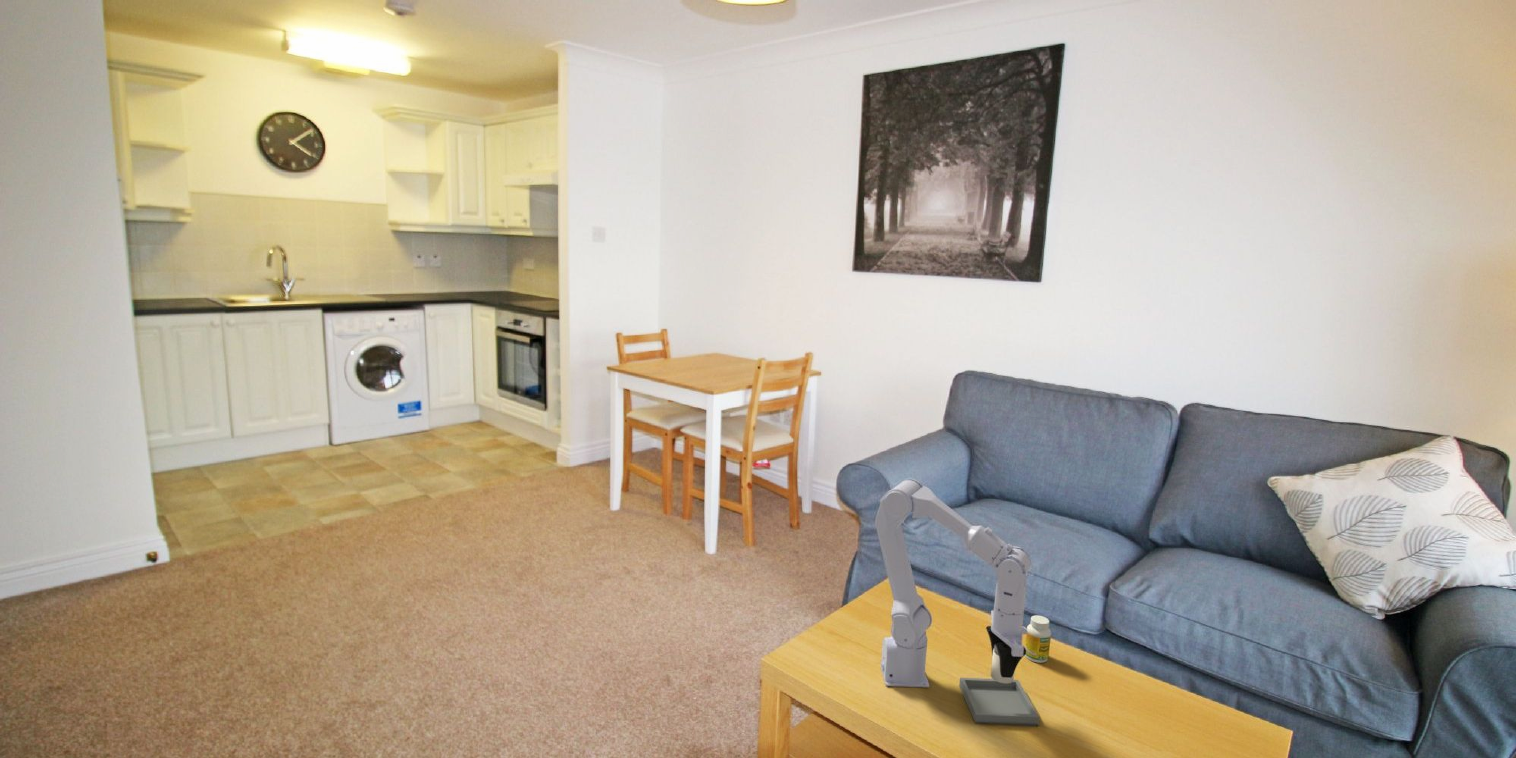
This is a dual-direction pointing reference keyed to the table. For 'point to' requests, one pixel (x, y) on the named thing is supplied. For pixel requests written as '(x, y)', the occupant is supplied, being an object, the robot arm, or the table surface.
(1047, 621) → the supplement bottle
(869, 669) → the table surface
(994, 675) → the cylinder
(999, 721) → the tray
